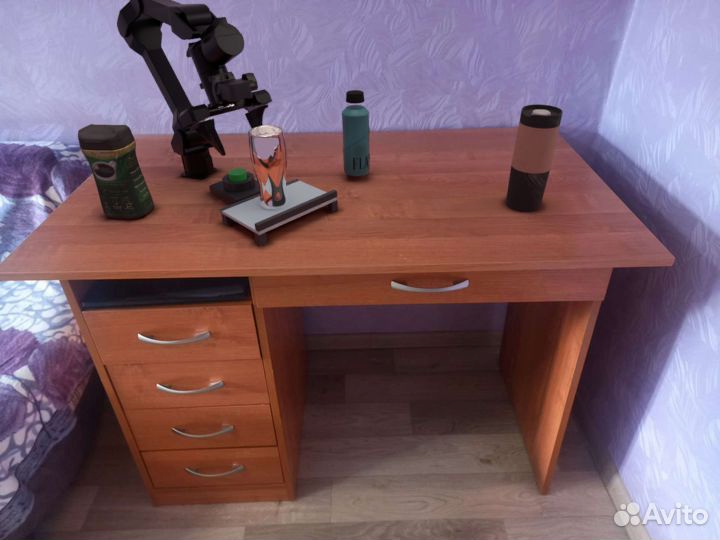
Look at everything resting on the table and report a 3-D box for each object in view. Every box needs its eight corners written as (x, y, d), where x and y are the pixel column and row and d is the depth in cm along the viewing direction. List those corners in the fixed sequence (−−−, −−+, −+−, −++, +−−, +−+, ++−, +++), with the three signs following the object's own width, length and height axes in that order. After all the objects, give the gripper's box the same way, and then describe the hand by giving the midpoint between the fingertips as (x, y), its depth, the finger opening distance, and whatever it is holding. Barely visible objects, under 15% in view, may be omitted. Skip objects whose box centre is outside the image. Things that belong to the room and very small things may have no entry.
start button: (225, 179, 106) (224, 171, 105) (240, 173, 108) (239, 166, 107) (235, 184, 103) (234, 176, 102) (250, 178, 106) (249, 171, 105)
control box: (210, 193, 108) (206, 177, 106) (243, 181, 114) (240, 165, 111) (238, 208, 102) (235, 191, 100) (271, 194, 107) (269, 178, 105)
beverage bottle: (350, 184, 111) (348, 96, 100) (338, 174, 116) (335, 89, 105) (375, 179, 113) (375, 92, 102) (362, 169, 118) (361, 86, 107)
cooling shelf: (222, 223, 97) (218, 203, 94) (298, 191, 108) (296, 173, 106) (260, 246, 89) (257, 225, 86) (338, 210, 100) (337, 190, 98)
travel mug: (542, 199, 103) (563, 105, 92) (541, 214, 97) (563, 117, 86) (506, 194, 105) (522, 102, 94) (503, 209, 100) (520, 113, 88)
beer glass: (293, 209, 94) (285, 135, 86) (258, 212, 93) (246, 138, 85) (290, 194, 100) (283, 123, 91) (257, 197, 99) (246, 126, 90)
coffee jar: (160, 204, 104) (136, 119, 93) (142, 221, 97) (114, 132, 87) (119, 202, 105) (91, 118, 94) (98, 219, 98) (66, 131, 88)
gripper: (184, 67, 83) (220, 154, 87) (271, 51, 93) (298, 129, 98) (164, 86, 91) (197, 164, 95) (245, 69, 102) (272, 140, 106)
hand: (243, 149), depth 98 cm, fingers open, 9 cm apart
